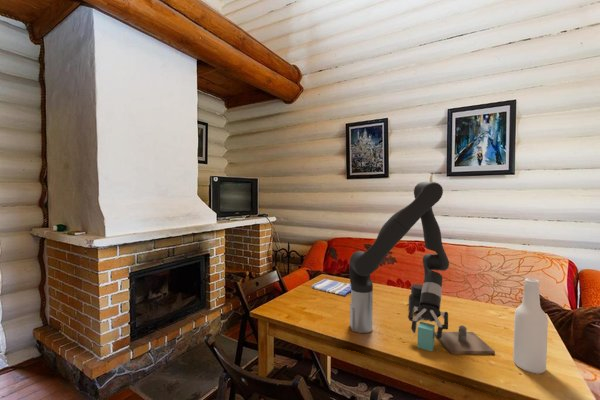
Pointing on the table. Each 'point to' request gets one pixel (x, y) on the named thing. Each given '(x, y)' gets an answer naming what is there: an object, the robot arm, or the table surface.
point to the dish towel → (333, 287)
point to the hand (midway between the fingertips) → (425, 335)
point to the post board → (464, 342)
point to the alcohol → (530, 331)
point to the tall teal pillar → (426, 336)
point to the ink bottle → (415, 295)
